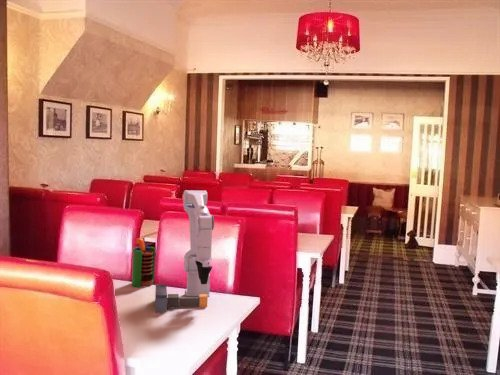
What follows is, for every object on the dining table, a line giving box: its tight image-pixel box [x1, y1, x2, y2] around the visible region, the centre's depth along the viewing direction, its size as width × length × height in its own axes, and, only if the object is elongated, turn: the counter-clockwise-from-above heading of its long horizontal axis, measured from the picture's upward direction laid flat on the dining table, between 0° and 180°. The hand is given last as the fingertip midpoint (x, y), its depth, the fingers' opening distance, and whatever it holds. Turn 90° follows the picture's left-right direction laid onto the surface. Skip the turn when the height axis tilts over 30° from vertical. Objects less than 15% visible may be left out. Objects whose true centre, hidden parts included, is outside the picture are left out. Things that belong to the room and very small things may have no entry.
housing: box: [154, 283, 168, 313], centre depth 183 cm, size 4×14×6 cm, turn 11°
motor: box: [131, 237, 156, 288], centre depth 210 cm, size 10×9×20 cm
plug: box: [167, 293, 209, 309], centre depth 185 cm, size 16×4×4 cm, turn 101°
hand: (202, 281), depth 185 cm, fingers open, 7 cm apart
